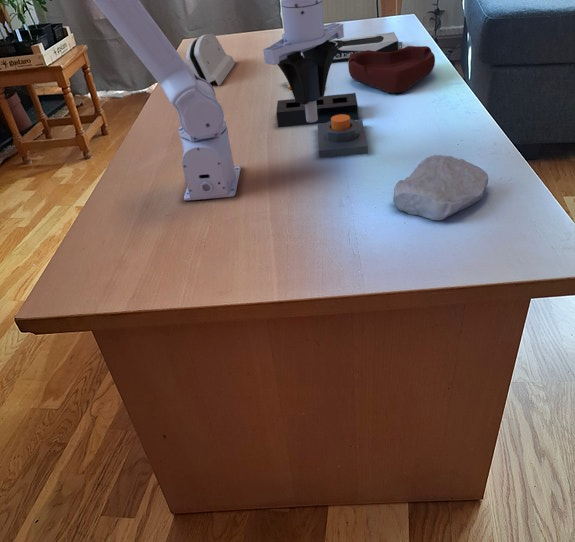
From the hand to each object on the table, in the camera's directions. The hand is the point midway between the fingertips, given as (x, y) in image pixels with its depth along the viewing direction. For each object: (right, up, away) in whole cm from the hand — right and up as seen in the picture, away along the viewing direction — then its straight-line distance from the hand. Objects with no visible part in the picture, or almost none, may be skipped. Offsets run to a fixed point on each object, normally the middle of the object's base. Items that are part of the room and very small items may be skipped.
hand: (310, 99), depth 84 cm
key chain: (0, +14, +35) cm, 38 cm away
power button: (+6, -2, +9) cm, 11 cm away
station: (+6, -4, +11) cm, 13 cm away
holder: (+2, +3, +21) cm, 21 cm away
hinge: (-22, +21, +49) cm, 58 cm away
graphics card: (+11, +26, +50) cm, 58 cm away
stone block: (+18, -17, -8) cm, 26 cm away
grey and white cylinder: (0, -3, +2) cm, 3 cm away
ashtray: (+19, +13, +31) cm, 39 cm away
